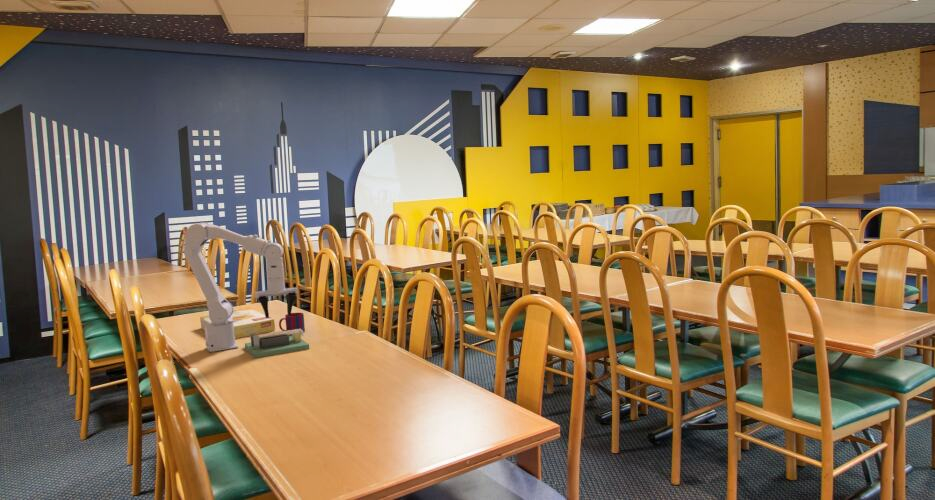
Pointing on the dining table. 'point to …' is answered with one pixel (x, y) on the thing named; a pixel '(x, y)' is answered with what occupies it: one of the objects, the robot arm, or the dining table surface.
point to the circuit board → (277, 348)
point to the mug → (293, 321)
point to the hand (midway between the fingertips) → (278, 315)
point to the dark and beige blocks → (272, 340)
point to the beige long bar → (281, 333)
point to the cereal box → (246, 322)
